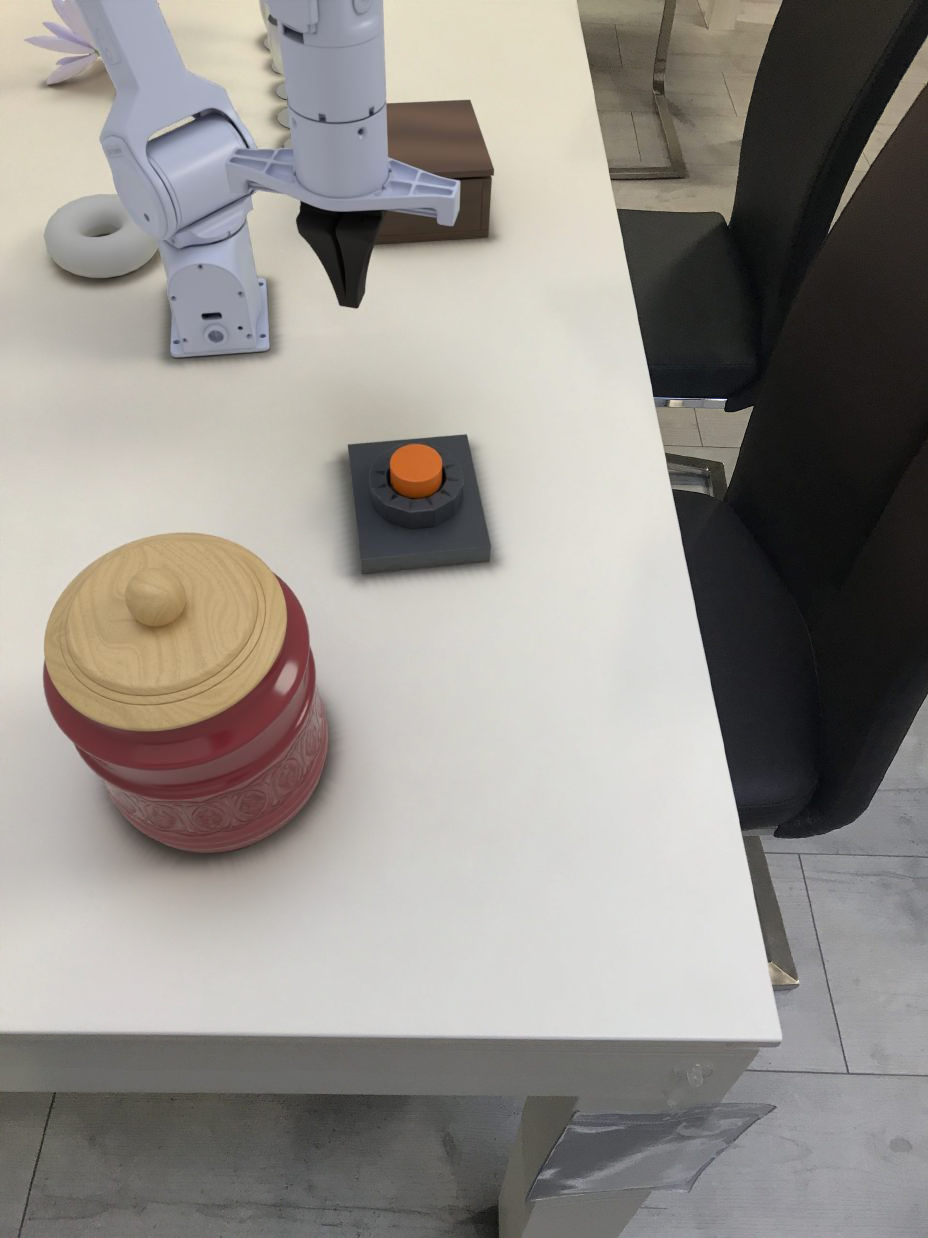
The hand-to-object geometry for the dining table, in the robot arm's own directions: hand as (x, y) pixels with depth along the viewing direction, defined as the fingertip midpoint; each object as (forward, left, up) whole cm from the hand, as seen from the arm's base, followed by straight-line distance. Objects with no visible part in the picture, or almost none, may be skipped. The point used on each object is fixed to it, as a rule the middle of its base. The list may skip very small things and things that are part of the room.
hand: (352, 298), depth 64 cm
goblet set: (+51, +3, -11) cm, 52 cm away
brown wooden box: (+28, -8, -10) cm, 31 cm away
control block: (-11, -3, -10) cm, 15 cm away
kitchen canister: (-29, +11, -11) cm, 33 cm away
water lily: (+55, +23, -11) cm, 61 cm away
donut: (+23, +21, -11) cm, 33 cm away
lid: (+28, -8, -4) cm, 29 cm away
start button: (-11, -3, -7) cm, 13 cm away
